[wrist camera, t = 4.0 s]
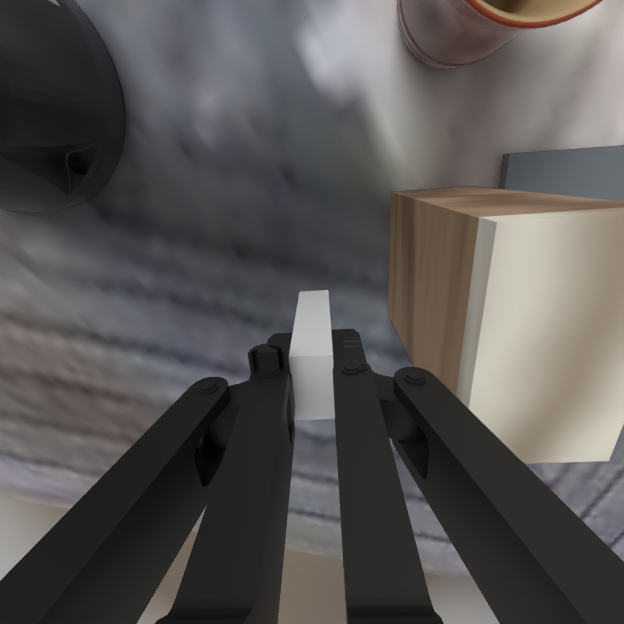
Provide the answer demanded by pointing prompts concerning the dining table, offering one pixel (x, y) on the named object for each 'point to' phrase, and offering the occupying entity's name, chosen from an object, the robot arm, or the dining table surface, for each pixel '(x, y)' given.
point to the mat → (567, 172)
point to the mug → (475, 26)
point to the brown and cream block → (516, 311)
